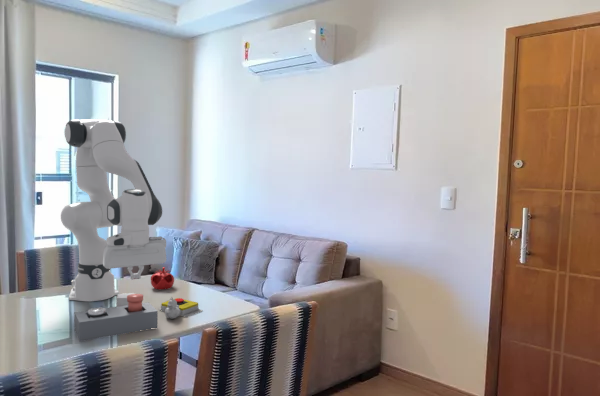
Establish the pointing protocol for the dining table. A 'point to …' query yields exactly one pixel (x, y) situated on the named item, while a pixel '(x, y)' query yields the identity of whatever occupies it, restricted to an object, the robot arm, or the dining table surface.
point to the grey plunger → (96, 312)
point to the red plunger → (134, 302)
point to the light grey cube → (122, 299)
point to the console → (114, 322)
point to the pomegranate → (162, 280)
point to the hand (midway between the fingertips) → (135, 278)
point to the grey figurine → (172, 309)
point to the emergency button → (184, 307)
